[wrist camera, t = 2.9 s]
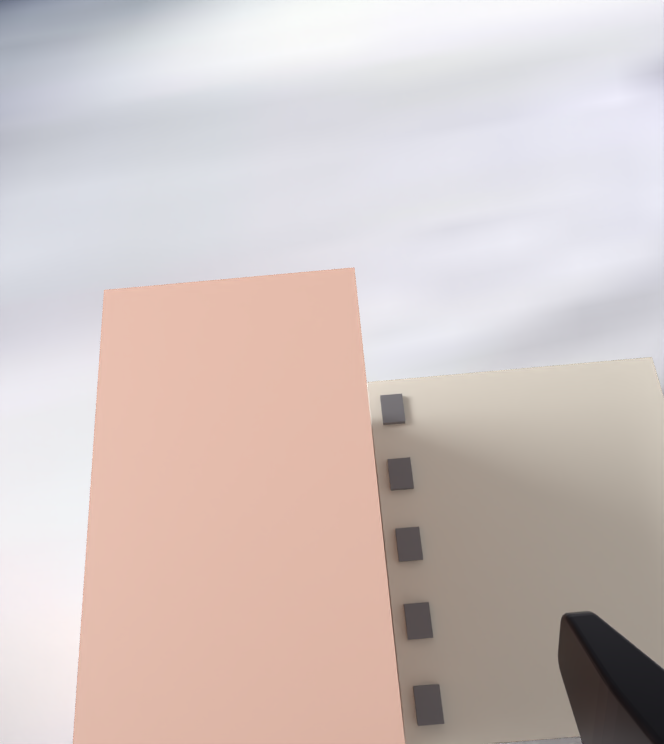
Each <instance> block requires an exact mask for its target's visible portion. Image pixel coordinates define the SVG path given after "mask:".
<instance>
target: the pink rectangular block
mask: <svg viewBox="0 0 664 744" xmlns="http://www.w3.org/2000/svg"><path fill="white" fill-rule="evenodd" d="M73 744H405V739H404V730H403V720H402V711H401V701H400V692H399V683H398V673H397V664H396V654H395V645H394V636H393V626H392V617H391V607H390V598H389V589H388V579H387V570H386V560H385V551H384V541H383V532H382V523H381V513H380V504H379V494H378V485H377V476H376V466H375V457H374V447H373V438H372V429H371V419H370V410H369V400H368V391H367V382H366V372H365V363H364V353H363V344H362V335H361V325H360V316H359V306H358V297H357V288H356V278H355V269H354V268H343V269H332V270H321V271H310V272H299V273H288V274H277V275H265V276H254V277H243V278H232V279H221V280H210V281H199V282H187V283H176V284H165V285H154V286H143V287H132V288H121V289H109V290H104V299H103V313H102V327H101V342H100V356H99V371H98V385H97V400H96V414H95V429H94V443H93V458H92V472H91V487H90V501H89V516H88V530H87V545H86V559H85V574H84V588H83V603H82V617H81V632H80V646H79V661H78V675H77V690H76V704H75V719H74V733H73Z"/></svg>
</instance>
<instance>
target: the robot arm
mask: <svg viewBox="0 0 664 744" xmlns="http://www.w3.org/2000/svg"><path fill="white" fill-rule="evenodd" d="M558 664H559V669H560V673H561V676H562V679H563V683H564V686H565V689H566V692H567V695H568V699H569V702H570V705H571V708H572V711H573V715H574V718H575V721H576V724H577V727H578V731H579V734H580V737H581V740H582V743H583V744H664V669H663V668H662V667H661V666H660V665H658V664H657V663H656V662H655V661H653V660H652V659H651V658H650V657H648V656H647V655H646V654H645V653H643V652H642V651H641V650H640V649H638V648H637V647H636V646H635V645H634V644H632V643H631V642H630V641H629V640H627V639H626V638H625V637H624V636H622V635H621V634H620V633H619V632H617V631H616V630H615V629H614V628H613V627H611V626H610V625H609V624H608V623H606V622H605V621H604V620H603V619H601V618H600V617H599V616H598V615H596V614H595V613H593V612H591V611H580V612H569V613H565V614H563V615H562V617H561V621H560V633H559V645H558Z"/></svg>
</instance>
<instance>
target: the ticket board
mask: <svg viewBox="0 0 664 744" xmlns="http://www.w3.org/2000/svg"><path fill="white" fill-rule="evenodd" d="M367 391H368V400H369V410H370V419H371V429H372V438H373V447H374V457H375V466H376V476H377V485H378V494H379V504H380V513H381V523H382V532H383V541H384V551H385V560H386V570H387V579H388V589H389V598H390V607H391V617H392V626H393V636H394V645H395V654H396V664H397V673H398V683H399V692H400V701H401V711H402V720H403V730H404V739H405V744H495V743H507V742H519V741H531V740H543V739H556V738H568V737H580V734H579V731H578V727H577V724H576V721H575V718H574V715H573V711H572V708H571V705H570V702H569V699H568V695H567V692H566V689H565V686H564V683H563V679H562V676H561V673H560V669H559V664H558V645H559V633H560V621H561V617H562V615H563V614H565V613H569V612H580V611H591V612H593V613H595V614H596V615H598V616H599V617H600V618H601V619H603V620H604V621H605V622H606V623H608V624H609V625H610V626H611V627H613V628H614V629H615V630H616V631H617V632H619V633H620V634H621V635H622V636H624V637H625V638H626V639H627V640H629V641H630V642H631V643H632V644H634V645H635V646H636V647H637V648H638V649H640V650H641V651H642V652H643V653H645V654H646V655H647V656H648V657H650V658H651V659H652V660H653V661H655V662H656V663H657V664H658V665H660V666H661V667H662V668H663V669H664V396H663V393H662V389H661V386H660V383H659V379H658V376H657V373H656V369H655V366H654V362H653V359H652V357H647V358H636V359H624V360H613V361H601V362H590V363H579V364H567V365H556V366H545V367H533V368H522V369H511V370H499V371H488V372H476V373H465V374H454V375H442V376H431V377H420V378H408V379H397V380H386V381H374V382H368V383H367Z"/></svg>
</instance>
